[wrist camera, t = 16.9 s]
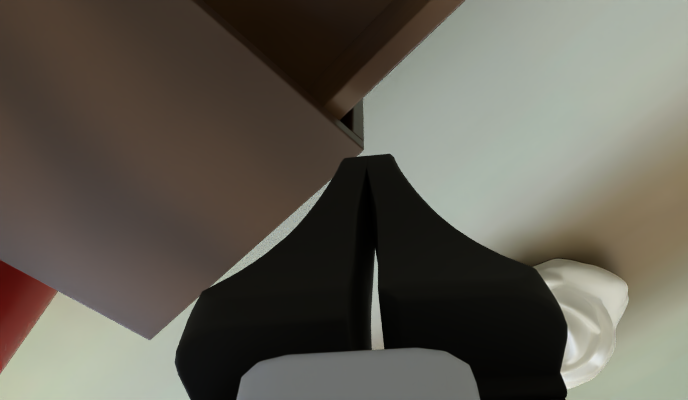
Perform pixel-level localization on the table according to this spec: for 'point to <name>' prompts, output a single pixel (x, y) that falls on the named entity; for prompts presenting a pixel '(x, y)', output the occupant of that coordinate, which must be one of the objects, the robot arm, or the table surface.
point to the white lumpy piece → (586, 314)
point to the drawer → (335, 40)
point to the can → (19, 308)
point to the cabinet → (148, 150)
